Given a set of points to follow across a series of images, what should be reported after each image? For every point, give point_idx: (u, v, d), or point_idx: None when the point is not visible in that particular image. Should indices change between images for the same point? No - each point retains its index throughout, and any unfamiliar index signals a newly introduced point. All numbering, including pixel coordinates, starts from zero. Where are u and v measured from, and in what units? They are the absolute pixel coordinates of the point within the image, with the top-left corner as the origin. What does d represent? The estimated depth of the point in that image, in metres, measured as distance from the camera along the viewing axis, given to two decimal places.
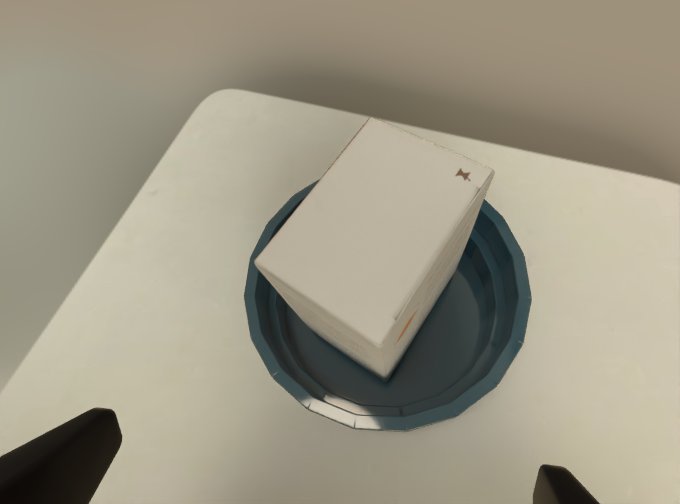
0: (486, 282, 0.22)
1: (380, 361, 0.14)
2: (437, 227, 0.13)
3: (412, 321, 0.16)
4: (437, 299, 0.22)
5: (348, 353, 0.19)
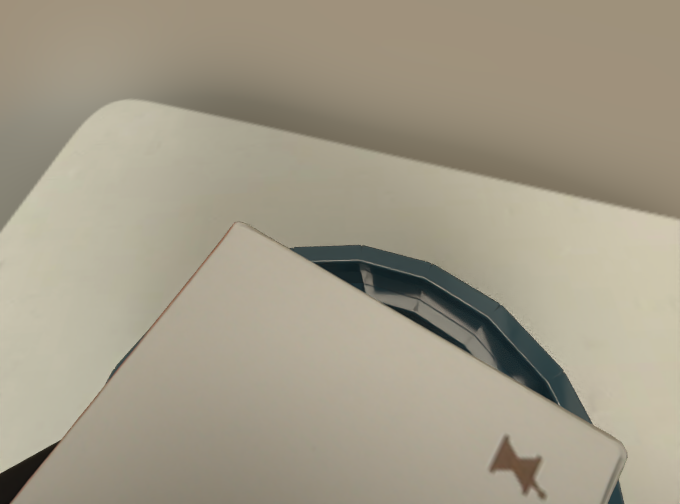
0: None
1: None
2: None
3: None
4: None
5: None
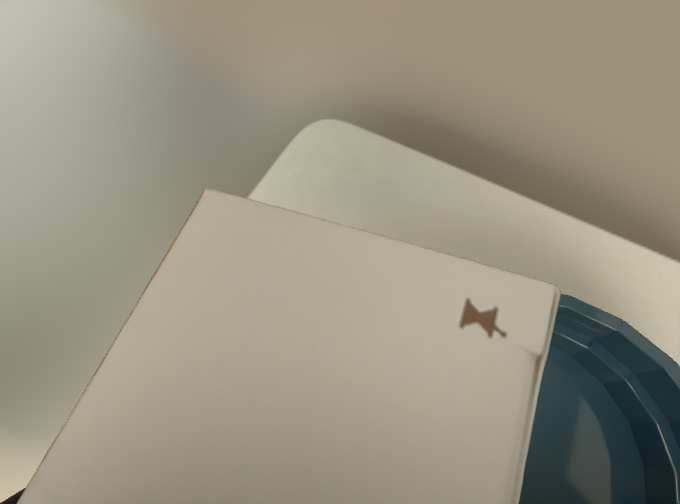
0: (654, 469, 0.17)
1: None
2: None
3: None
4: None
5: None
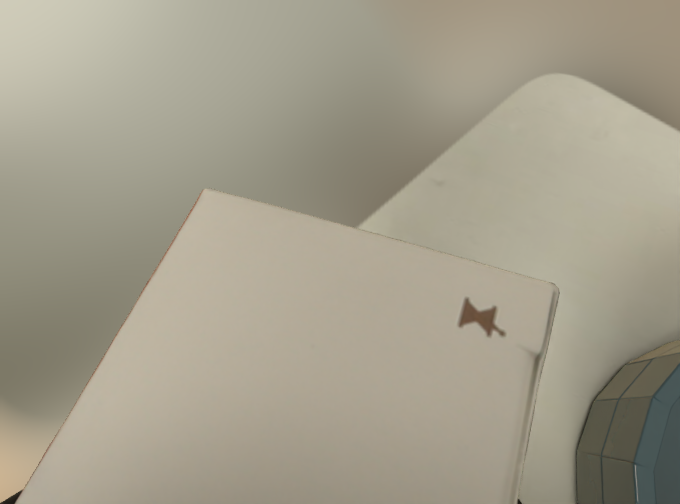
0: None
1: None
2: None
3: None
4: None
5: None
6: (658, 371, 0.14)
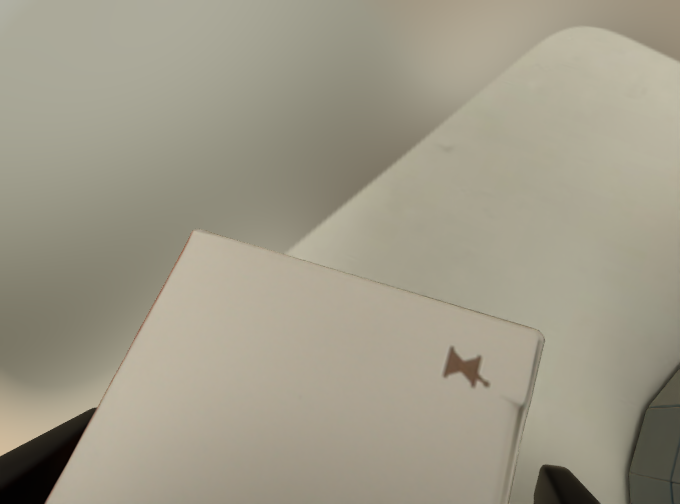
0: None
1: None
2: None
3: None
4: None
5: None
6: None
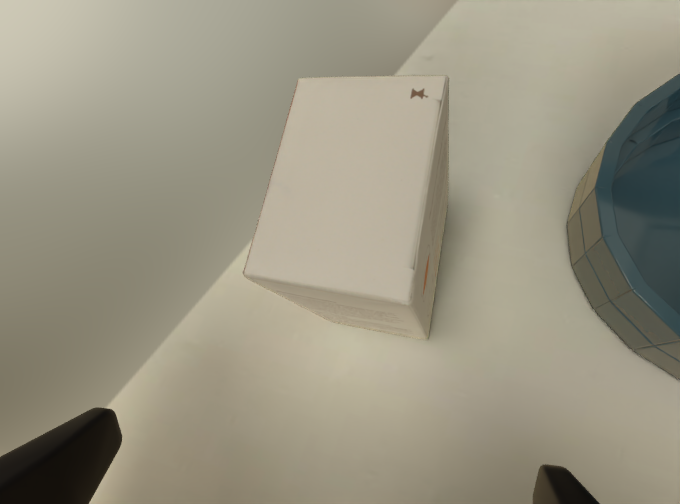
0: None
1: (415, 319, 0.13)
2: (415, 157, 0.12)
3: (429, 267, 0.15)
4: (442, 238, 0.21)
5: (379, 327, 0.18)
6: None
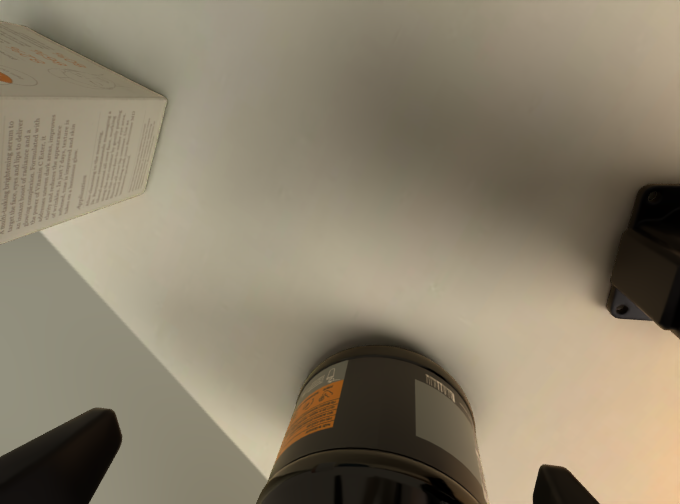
0: None
1: (33, 100, 0.12)
2: None
3: (3, 67, 0.13)
4: (56, 45, 0.18)
5: (126, 145, 0.17)
6: None
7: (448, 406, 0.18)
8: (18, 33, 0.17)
